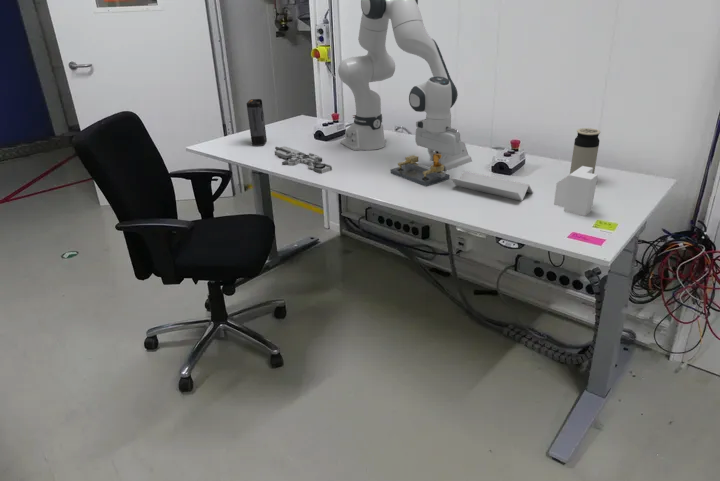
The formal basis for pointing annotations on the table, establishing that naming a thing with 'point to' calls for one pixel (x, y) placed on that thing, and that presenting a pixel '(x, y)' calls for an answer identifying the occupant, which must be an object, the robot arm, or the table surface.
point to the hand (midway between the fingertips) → (437, 162)
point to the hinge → (456, 158)
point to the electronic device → (256, 122)
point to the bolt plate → (418, 172)
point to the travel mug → (585, 149)
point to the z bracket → (493, 185)
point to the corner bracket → (577, 191)
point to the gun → (302, 159)
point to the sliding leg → (435, 165)
